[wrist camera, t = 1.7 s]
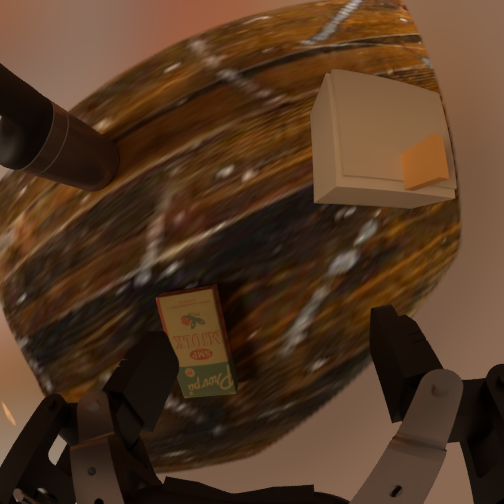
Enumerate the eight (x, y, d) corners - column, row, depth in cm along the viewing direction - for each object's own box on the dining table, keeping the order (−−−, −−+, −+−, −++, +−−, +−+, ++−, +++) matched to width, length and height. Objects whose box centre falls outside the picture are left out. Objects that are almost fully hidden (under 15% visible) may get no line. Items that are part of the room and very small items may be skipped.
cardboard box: (310, 114, 37) (326, 73, 25) (401, 126, 37) (437, 97, 25) (314, 202, 37) (336, 186, 26) (410, 208, 37) (455, 198, 25)
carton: (218, 282, 39) (213, 287, 34) (240, 382, 39) (238, 395, 35) (164, 291, 39) (153, 297, 34) (189, 387, 39) (183, 400, 35)
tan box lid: (330, 72, 25) (346, 33, 18) (435, 95, 25) (464, 71, 17) (342, 186, 26) (369, 167, 18) (453, 197, 25) (493, 188, 18)
